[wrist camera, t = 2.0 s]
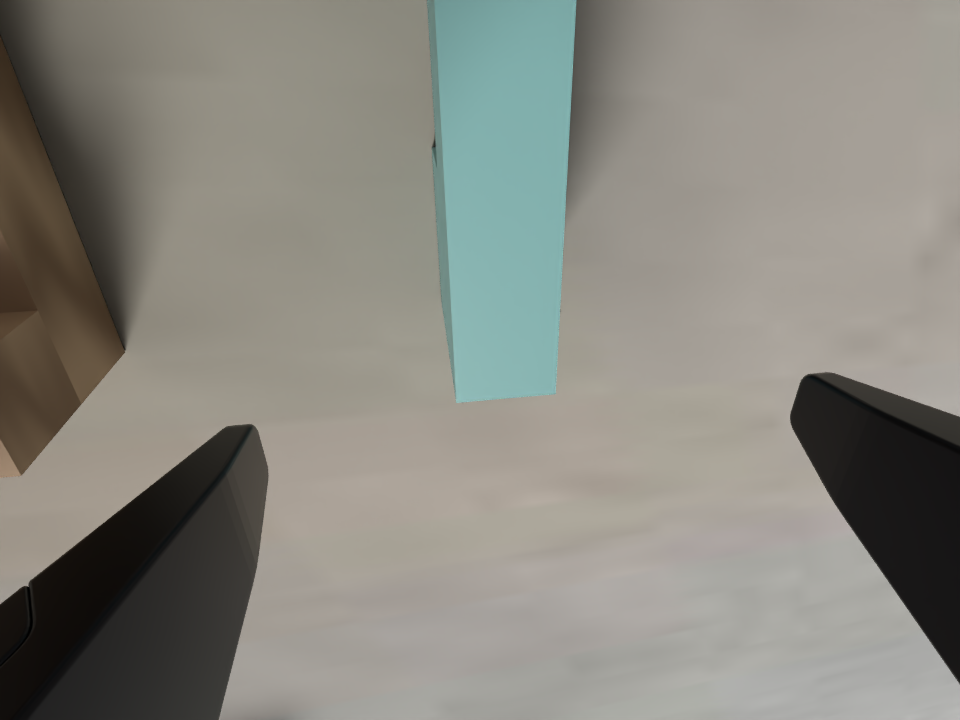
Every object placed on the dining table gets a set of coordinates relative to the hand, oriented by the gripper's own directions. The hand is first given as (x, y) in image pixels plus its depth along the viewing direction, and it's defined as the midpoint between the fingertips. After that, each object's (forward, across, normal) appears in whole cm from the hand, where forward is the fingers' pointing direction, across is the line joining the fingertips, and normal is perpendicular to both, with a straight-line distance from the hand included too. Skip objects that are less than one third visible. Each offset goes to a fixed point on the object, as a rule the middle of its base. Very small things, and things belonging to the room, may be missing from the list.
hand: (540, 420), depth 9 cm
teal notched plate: (+10, 0, -4) cm, 11 cm away
